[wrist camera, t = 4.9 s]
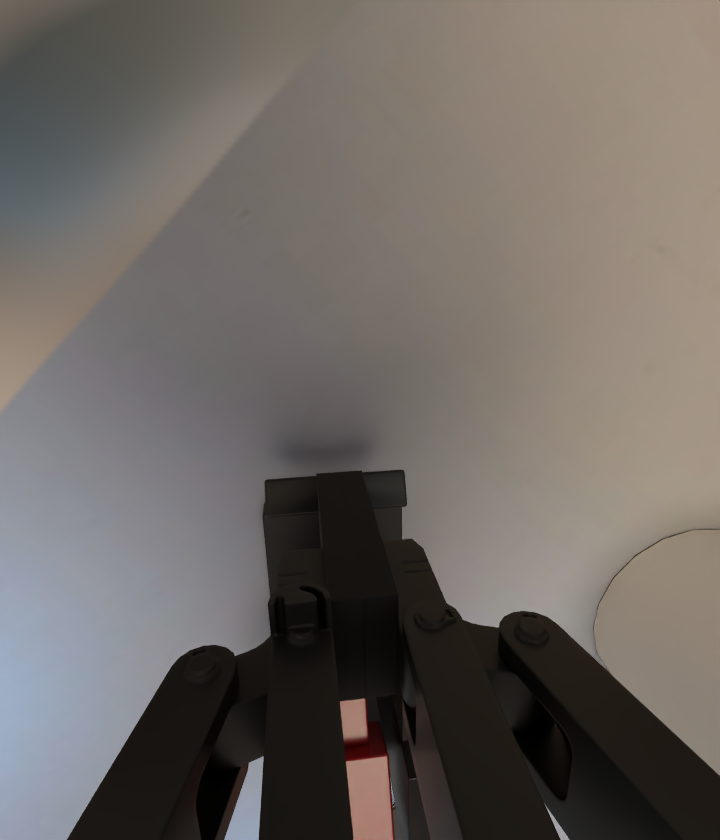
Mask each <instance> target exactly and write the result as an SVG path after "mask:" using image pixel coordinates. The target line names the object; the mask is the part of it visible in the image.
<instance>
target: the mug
mask: <svg viewBox="0 0 720 840" xmlns="http://www.w3.org/2000/svg"><path fill="white" fill-rule="evenodd" d="M594 636H595V643H596V649H597V653H598V655H599V656H600V658H601V659H602V661H603V663H604V664H605V666H606V667H607V669H608V670H609V672H610V673H611V674H612V676H613V677H614V678H615V679H617V680H618V681H619V682H620V683H621V684H622V685H623V686H624V687H625V688H626V689H627V690H628V691H629V692H630V693H632V694H633V695H634V696H635V697H636V698H637V699H638V700H639V701H640V702H641V703H642V704H643V705H644V706H646V707H647V708H648V709H649V710H650V711H651V712H652V713H653V714H654V715H655V716H656V717H657V718H658V719H659V720H661V721H662V722H663V723H664V724H665V725H666V726H667V727H668V728H669V729H670V730H671V731H672V732H673V733H674V734H676V735H677V736H678V737H679V738H680V739H681V740H682V741H683V742H684V743H685V744H686V745H687V746H688V747H690V748H691V749H692V750H693V751H694V752H695V753H696V754H697V755H698V756H699V757H700V758H701V759H702V760H703V761H705V762H706V763H707V764H708V765H709V766H710V767H711V768H712V769H713V770H714V771H715V772H716V773H717V774H718V775H720V530H691V531H688V532H685V533H682V534H679V535H675V536H672V537H669V538H666V539H663V540H661V541H659V542H658V543H656V544H655V545H653V546H651V547H650V548H648V549H646V550H645V551H643V552H641V553H640V554H638V555H637V556H635V557H634V558H633V559H632V560H631V561H630V562H629V563H628V564H627V565H626V566H625V567H624V568H623V569H622V570H621V571H620V572H619V573H618V574H617V575H616V576H615V577H614V579H613V580H612V582H611V584H610V586H609V587H608V589H607V591H606V593H605V594H604V596H603V598H602V600H601V601H600V603H599V607H598V611H597V616H596V620H595V625H594Z"/></svg>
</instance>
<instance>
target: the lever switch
mask: <svg viewBox="0 0 720 840" xmlns="http://www.w3.org/2000/svg"><path fill="white" fill-rule="evenodd" d="M373 511H374V514H375V518H376V521H377V524H378V528H379V531H380V535H381V538H382V541H393V540H402V507H393V508H381V509H373ZM263 525H264V535H265V546H266V556H267V567H268V577H269V588H270V597H271V595H273V594H274V593H275V592H276V591H277V581H278V563H279V561H280V560H281V558H282V557H283V555H284V554H285V553H286V551H293V550H304V549H316V548H321V543H320V526H319V514H307V515H294V516H282V517H270V518H269V517H267V516H266V503H265V504H264V509H263ZM366 702H367V716H368V722H373V721H379V723H380V727H381V730H382V734H383V737H384V741H385V744H386V748H387V751H388V755H389V768H390V777H391V783H392V788H393V794H394V799H395V805H396V810H397V816H398V821H399V827H400V832H401V838H402V840H431V839H430V834H429V830H428V825H427V821H426V816H425V812H424V808H423V803H422V799H421V794H420V790H419V785H418V781H417V776H416V772H415V768H414V763H413V759H412V754H411V750H410V745H409V741H408V740H406V741H403V696H402V692H401V687H400V683H399V695H390V696H382V697H374V698H366Z"/></svg>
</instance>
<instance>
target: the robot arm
mask: <svg viewBox="0 0 720 840" xmlns="http://www.w3.org/2000/svg"><path fill="white" fill-rule="evenodd" d="M317 491H318V509H319V526H320V543H321V548H316V549H304V550H293V551H286V553H285V554H284V555H283V557H282V558H281V560H280V561H279V563H278V581H277V591H276V592H275V593H274V594H273V595H271V597H270V600H269V602H268V610H269V620H270V630H271V635H270V637H269V638H268V639H267V640H266V641H265V642H264V643H262V644H261V645H260V646H258V647H257V648H255V649H252V650H250V651H248V652H245V653H243V654H240V655H237V656H235V655H234V653H233V652H231V651H230V650H229V649H228V648H226V647H222V646H218V645H210V646H202V647H199V648H196V649H193V650H190V651H189V652H187V653H186V654H184V655H183V656H181V657H179V659H178V660H177V661H176V662H175V663H174V664H173V666H172V667H171V668H170V670H169V672H168V673H167V675H166V677H165V678H164V680H163V682H162V683H161V685H160V687H159V688H158V690H157V691H156V693H155V695H154V696H153V698H152V700H151V701H150V703H149V705H148V706H147V708H146V710H145V711H144V713H143V715H142V716H141V718H140V720H139V721H138V723H137V725H136V726H135V728H134V730H133V731H132V733H131V734H130V736H129V738H128V739H127V741H126V743H125V744H124V746H123V748H122V749H121V751H120V753H119V754H118V756H117V758H116V759H115V761H114V763H113V764H112V766H111V768H110V769H109V771H108V773H107V774H106V776H105V778H104V779H103V781H102V782H101V784H100V786H99V787H98V789H97V791H96V792H95V794H94V796H93V797H92V799H91V801H90V802H89V804H88V806H87V807H86V809H85V811H84V812H83V814H82V816H81V817H80V819H79V821H78V822H77V824H76V825H75V827H74V829H73V830H72V832H71V834H70V835H69V837H68V839H67V840H224V838H225V835H226V832H227V829H228V826H229V824H230V821H231V818H232V815H233V812H234V809H235V806H236V803H237V800H238V797H239V794H240V791H241V788H242V785H243V782H244V779H245V777H246V774H247V771H248V764H249V762H251V761H253V760H256V759H258V758H260V757H262V756H264V763H263V779H262V796H261V812H260V829H259V840H354V837H353V827H352V817H351V807H350V797H349V788H348V778H347V768H346V758H345V748H344V738H343V728H342V718H341V708H340V701H348V700H357V699H365V698H374V697H382V696H390V695H399V683H400V687H401V692H402V696H403V741H406V740H408V741H409V745H410V750H411V754H412V759H413V763H414V768H415V772H416V776H417V781H418V785H419V790H420V794H421V799H422V803H423V808H424V812H425V816H426V821H427V825H428V830H429V834H430V839H431V840H560V838H559V835H558V833H557V831H556V829H555V826H554V824H553V822H552V820H551V817H550V815H549V813H548V811H547V808H548V809H549V810H550V812H551V813H552V815H553V816H554V818H555V819H556V820H557V822H558V823H559V825H560V826H561V828H562V829H563V830H564V832H565V833H566V835H567V836H568V838H569V839H570V840H720V775H718V774H717V773H716V772H715V771H714V770H713V769H712V768H711V767H710V766H709V765H708V764H707V763H706V762H705V761H703V760H702V759H701V758H700V757H699V756H698V755H697V754H696V753H695V752H694V751H693V750H692V749H691V748H690V747H688V746H687V745H686V744H685V743H684V742H683V741H682V740H681V739H680V738H679V737H678V736H677V735H676V734H674V733H673V732H672V731H671V730H670V729H669V728H668V727H667V726H666V725H665V724H664V723H663V722H662V721H661V720H659V719H658V718H657V717H656V716H655V715H654V714H653V713H652V712H651V711H650V710H649V709H648V708H647V707H646V706H644V705H643V704H642V703H641V702H640V701H639V700H638V699H637V698H636V697H635V696H634V695H633V694H632V693H630V692H629V691H628V690H627V689H626V688H625V687H624V686H623V685H622V684H621V683H620V682H619V681H618V680H617V679H615V678H614V677H613V676H612V675H611V674H610V673H609V672H608V671H607V670H606V669H605V668H604V667H603V666H602V665H600V664H599V663H598V662H597V661H596V660H595V659H594V658H593V657H592V656H591V655H590V654H589V653H588V652H586V651H585V650H584V649H583V648H582V647H581V646H580V645H579V644H578V643H577V642H576V641H575V640H574V639H573V638H571V637H570V636H569V635H568V634H567V633H566V632H565V631H564V630H563V629H562V628H561V627H560V626H559V625H558V624H556V623H555V622H553V621H552V620H551V619H549V618H548V617H546V616H543V615H540V614H538V613H534V612H527V611H520V612H513V613H510V614H509V615H507V616H505V617H504V618H503V619H502V621H501V622H500V624H499V628H496V627H489V626H482V625H477V624H472V623H469V622H467V621H464V620H462V617H461V616H460V614H459V613H458V612H457V610H456V609H455V608H453V607H452V606H450V605H448V604H447V603H446V601H445V599H444V597H443V594H442V592H441V590H440V587H439V585H438V582H437V580H436V578H435V575H434V573H433V571H432V568H431V566H430V564H429V562H428V559H427V557H426V554H425V552H424V549H423V548H422V547H421V546H420V545H418V544H417V543H416V542H415V541H414V540H412V539H404V540H393V541H382V538H381V535H380V531H379V528H378V524H377V521H376V518H375V514H374V511H373V508H372V504H371V501H370V497H369V494H368V491H367V487H366V484H365V481H364V477H363V474H362V471H349V472H335V473H321V474H317ZM544 803H545V804H544ZM545 805H546V806H547V808H546V806H545Z"/></svg>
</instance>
